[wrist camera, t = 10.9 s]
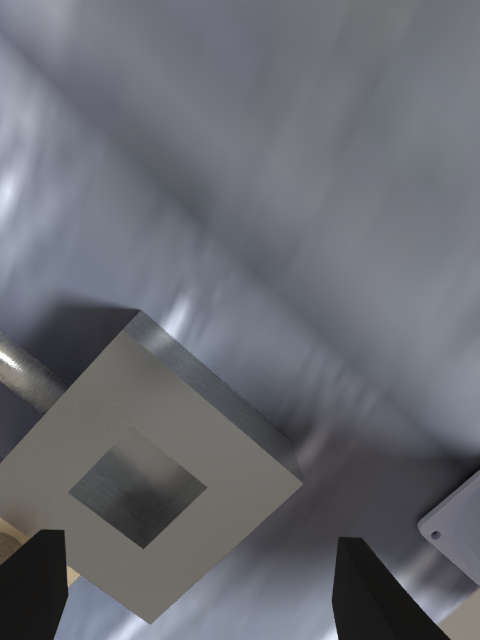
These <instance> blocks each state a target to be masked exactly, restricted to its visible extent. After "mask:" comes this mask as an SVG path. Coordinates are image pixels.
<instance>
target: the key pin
mask: <svg viewBox="0 0 480 640" xmlns="http://www.w3.org/2000/svg"><path fill="white" fill-rule="evenodd" d="M21 546H22V544H21V543H20V542H19V541H18V540H17V539H16V538H14V537H13V536H11V535H9V534H6V533H3V532H0V565H1V564H2V563H3V562H4V561H5V560H7V559H8V558H9V557H10V556H11V555H12V554H13V553H14V552H16V551H17V550H18V549H19V548H20V547H21Z"/></svg>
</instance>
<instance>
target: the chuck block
mask: <svg viewBox="0 0 480 640" xmlns="http://www.w3.org/2000/svg"><path fill="white" fill-rule="evenodd" d="M0 382H2V383H3V384H4V385H5V386H7V387H8V388H9V389H11V390H12V391H13V392H14V393H16V394H17V395H18V396H19V397H21V398H22V399H23V400H25V401H26V402H27V403H28V404H30V405H31V406H32V407H34V408H35V409H36V410H37V411H39V412H40V413H41V414H43V415H44V416H43V417H42V418H41V419H40V420H39V421H38V422H37V424H36V425H35V426H34V427H33V428H32V429H31V430H30V431H29V432H28V433H27V434H26V436H25V437H24V438H23V439H22V440H21V441H20V442H19V443H18V444H17V445H16V447H15V448H14V449H13V450H12V451H11V452H10V453H9V454H8V455H7V456H6V457H5V459H4V460H3V461H2V462H1V463H0V518H2V519H3V520H4V521H6V522H7V523H9V524H10V525H11V526H13V527H14V528H16V529H17V530H18V531H20V532H21V533H23V534H24V535H25V536H27V537H28V538H31V537H33V536H34V535H35V534H36V533H37V532H38V531H40V530H41V529H51V530H65V547H66V564H67V566H69V567H70V568H72V569H73V570H74V571H76V572H77V573H79V574H80V575H81V576H83V577H84V578H86V579H87V580H88V581H90V582H91V583H93V584H94V585H95V586H97V587H98V588H100V589H101V590H102V591H104V592H105V593H107V594H108V595H109V596H111V597H112V598H114V599H115V600H116V601H118V602H119V603H121V604H122V605H123V606H125V607H126V608H128V609H129V610H130V611H132V612H133V613H135V614H136V615H137V616H139V617H140V618H142V619H143V620H144V621H146V622H147V623H149V624H150V625H151V624H152V623H153V622H154V621H155V620H156V619H157V618H158V617H159V616H160V615H162V614H163V613H164V612H165V611H166V610H167V609H168V608H169V607H170V606H171V605H172V604H174V603H175V602H176V601H177V600H178V599H179V598H180V597H181V596H182V595H183V594H184V593H186V592H187V591H188V590H189V589H190V588H191V587H192V586H193V585H194V584H195V583H196V582H198V581H199V580H200V579H201V578H202V577H203V576H204V575H205V574H206V573H207V572H208V571H210V570H211V569H212V568H213V567H214V566H215V565H216V564H217V563H218V562H219V561H220V560H222V559H223V558H224V557H225V556H226V555H227V554H228V553H229V552H230V551H231V550H232V549H234V548H235V547H236V546H237V545H238V544H239V543H240V542H241V541H242V540H243V539H244V538H246V537H247V536H248V535H249V534H250V533H251V532H252V531H253V530H254V529H255V528H256V527H258V526H259V525H260V524H261V523H262V522H263V521H264V520H265V519H266V518H267V517H268V516H270V515H271V514H272V513H273V512H274V511H275V510H276V509H277V508H278V507H279V506H280V505H282V504H283V503H284V502H285V501H286V500H287V499H288V498H289V497H290V496H291V495H292V494H294V493H295V492H296V491H297V490H298V489H299V488H300V487H301V486H302V485H303V484H304V483H303V479H302V475H301V472H300V468H299V464H298V461H297V457H296V453H295V450H294V446H293V442H291V441H290V440H289V439H288V438H287V437H286V436H285V435H283V434H282V433H281V432H280V431H279V430H278V429H277V428H275V427H274V426H273V425H272V424H271V423H270V422H269V421H267V420H266V419H265V418H264V417H263V416H262V415H261V414H259V413H258V412H257V411H256V410H255V409H254V408H252V407H251V406H250V405H249V404H248V403H247V402H246V401H244V400H243V399H242V398H241V397H240V396H239V395H238V394H236V393H235V392H234V391H233V390H232V389H231V388H230V387H228V386H227V385H226V384H225V383H224V382H223V381H222V380H220V379H219V378H218V377H217V376H216V375H215V374H214V373H212V372H211V371H210V370H209V369H208V368H207V367H206V366H204V365H203V364H202V363H201V362H200V361H199V360H198V359H196V358H195V357H194V356H193V355H192V354H191V353H190V352H188V351H187V350H186V349H185V348H184V347H183V346H182V345H180V344H179V343H178V342H177V341H176V340H175V339H174V338H172V337H171V336H170V335H169V334H168V333H167V332H166V331H164V330H163V329H162V328H161V327H160V326H159V325H158V324H156V323H155V322H154V321H153V320H152V319H151V318H150V317H148V316H147V315H146V314H145V313H144V312H143V311H142V310H141V311H140V312H139V313H138V314H137V315H136V316H135V317H134V318H133V319H132V320H131V321H130V322H129V323H128V324H127V325H126V326H125V327H124V328H123V329H122V331H121V332H120V333H119V334H118V335H117V336H116V337H115V338H114V339H113V340H112V341H111V343H110V344H109V345H108V346H107V347H106V348H105V349H104V350H103V351H102V352H101V354H100V355H99V356H98V357H97V358H96V359H95V360H94V361H93V362H92V363H91V364H90V366H89V367H88V368H87V369H86V370H85V371H84V372H83V373H82V374H81V375H80V376H79V378H78V379H77V380H76V381H75V382H74V383H73V384H72V385H71V386H69V385H68V384H67V383H66V382H64V381H63V380H62V379H61V378H59V377H58V376H57V375H56V374H55V373H53V372H52V371H51V370H50V369H48V368H47V367H46V366H45V365H43V364H42V363H41V362H40V361H38V360H37V359H36V358H35V357H33V356H32V355H31V354H30V353H28V352H27V351H26V350H25V349H23V348H22V347H21V346H20V345H19V344H17V343H16V342H15V341H14V340H12V339H11V338H10V337H9V336H7V335H6V334H5V333H4V332H2V331H1V330H0Z"/></svg>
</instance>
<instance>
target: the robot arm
mask: <svg viewBox="0 0 480 640" xmlns="http://www.w3.org/2000/svg"><path fill="white" fill-rule="evenodd" d="M417 526H418V530H419V532H420V533H421V535H422V536H423V537H424V538H426V539H427V540H428V541H429V542H430V543H431V544H432V545H434V546H435V547H436V548H437V549H438V550H439V551H440V552H441V553H443V554H444V555H445V556H446V557H447V558H448V559H449V560H450V561H452V562H453V563H454V564H455V565H456V566H457V567H458V568H459V569H461V570H462V571H463V572H464V573H465V574H466V575H467V576H468V577H470V578H471V579H472V580H473V581H474V582H475V583H476V584H477V585H479V586H480V470H479V471H477V472H476V473H475V474H474V475H473V476H472V477H470V478H469V479H468V480H467V481H466V482H465V483H463V484H462V485H461V486H460V487H459V488H457V489H456V490H455V491H454V492H453V493H452V494H450V495H449V496H448V497H447V498H446V499H444V500H443V501H442V502H441V503H440V504H439V505H437V506H436V507H435V508H434V509H433V510H432V511H430V512H429V513H428V514H427V515H426V516H424V517H423V518H422V519H421V520H420V521H419V522H418V525H417ZM435 531H437V532H436V533H435V534H432V533H433V532H435ZM67 598H68V581H67V564H66V547H65V530H51V529H41V530H40V531H38V532H37V533H36V534H35V535H34V536H33V537H31V538H30V539H29V540H28V541H27V542H26V543H25V544H23V545H22V546H21V547H20V548H19V549H18V550H17V551H16V552H14V553H13V554H12V555H11V556H10V557H9V558H8V559H7V560H5V561H4V562H3V563H2V564H1V565H0V640H53V639H54V637H55V634H56V631H57V628H58V625H59V622H60V619H61V616H62V613H63V610H64V607H65V604H66V601H67ZM332 606H333V612H334V618H335V623H336V629H337V634H338V639H339V640H450V638H448V636H447V635H446V634H445V633H444V632H443V631H442V630H441V629H440V628H439V627H438V626H437V625H436V624H435V623H434V622H433V621H432V620H431V619H430V618H429V616H428V615H427V614H426V613H425V612H424V611H423V610H422V609H421V608H420V606H419V605H418V604H417V603H416V602H415V601H414V600H413V599H412V597H411V596H410V595H409V594H408V593H407V592H406V591H405V589H404V588H403V587H402V586H401V585H400V584H399V582H398V581H397V580H396V579H395V578H394V576H393V575H392V574H391V573H390V572H389V570H388V569H387V568H386V567H385V566H384V564H383V563H382V562H381V561H380V559H379V558H378V557H377V556H376V554H375V553H374V552H373V551H372V550H371V548H370V547H369V546H368V545H367V543H366V542H365V541H364V540H363V539H362V538H353V537H339V539H338V548H337V557H336V566H335V576H334V585H333V594H332Z"/></svg>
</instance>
